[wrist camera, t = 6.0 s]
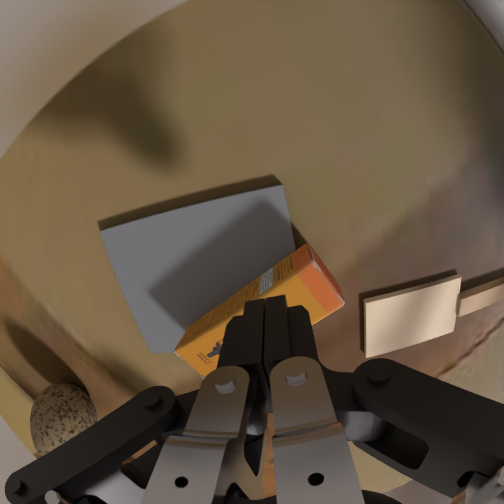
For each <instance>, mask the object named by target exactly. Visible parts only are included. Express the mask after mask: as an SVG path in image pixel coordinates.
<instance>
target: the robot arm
mask: <svg viewBox="0 0 504 504" xmlns="http://www.w3.org/2000/svg"><path fill="white" fill-rule="evenodd" d="M222 342H223V344H222V346H221V350H220V355H219V359H218V363H217V368H216V369H215V370H213V371H212V372H210V373H209V374H208V375H207V376H206V377H205V378H204V379H203V381H202V383H201V386H200V389H198V390H195V391H192V392H189V393H185V394H182V395H178V396H175V394H174V392H173V391H172V390H171V389H170V388H168V387H165V386H154V387H150V388H148V389H146V390H144V391H142V392H141V393H139V394H138V395H136V396H135V397H133V398H132V399H131V400H129V401H128V402H126V403H125V404H123V405H122V406H120V407H119V408H117V409H116V410H114V411H113V412H111V413H110V414H108V415H107V416H105V417H104V418H102V419H101V420H99V421H98V422H96V423H95V424H93V425H92V426H90V427H89V428H87V429H85V430H84V431H82V432H81V433H79V434H78V435H76V436H74V437H73V438H71V439H70V440H68V441H66V442H65V443H63V444H62V445H60V446H58V447H57V448H55V449H53V450H52V451H50V452H48V453H47V454H45V455H43V456H42V457H40V458H38V459H37V460H35V461H33V462H32V463H30V464H28V465H26V466H25V467H23V468H21V469H19V470H18V471H16V472H14V473H12V474H11V475H10V476H9V478H8V479H7V481H6V484H5V495H6V497H7V499H8V501H9V502H10V503H11V504H402V503H400V502H398V501H397V500H395V499H393V498H390V497H388V496H386V495H384V494H380V493H377V492H372V491H367V490H361V487H360V484H359V480H358V477H357V473H356V469H355V466H354V462H353V459H352V456H351V452H350V449H349V445H348V442H347V441H352V442H353V443H354V445H356V446H357V447H358V448H360V449H361V450H363V451H365V452H366V453H368V454H370V455H371V456H373V457H374V458H376V459H378V460H380V461H381V462H383V463H385V464H386V465H388V466H390V467H392V468H393V469H395V470H397V471H399V472H400V473H402V474H404V475H406V476H408V477H410V478H412V479H413V480H415V481H417V482H419V483H421V484H423V485H425V486H427V487H429V488H431V489H433V490H435V491H437V492H440V493H442V494H444V495H446V496H448V497H451V498H452V499H453V500H452V503H451V504H504V404H502V403H499V402H497V401H494V400H491V399H488V398H486V397H483V396H480V395H477V394H475V393H472V392H469V391H467V390H464V389H462V388H459V387H456V386H454V385H451V384H449V383H446V382H444V381H441V380H439V379H436V378H434V377H431V376H429V375H426V374H424V373H422V372H419V371H417V370H414V369H412V368H409V367H407V366H405V365H402V364H400V363H398V362H395V361H393V360H390V359H384V358H378V359H372V360H369V361H366V362H364V363H362V364H361V365H360V366H358V367H357V368H356V370H355V371H354V373H347V372H336V371H332V370H329V369H327V368H326V367H324V366H323V365H322V364H321V363H320V361H319V359H318V354H317V349H316V344H315V339H314V334H313V330H312V325H311V320H310V315H309V311H308V310H307V309H306V308H304V307H303V306H302V305H297V306H292V307H288V305H287V300H286V296H285V294H284V295H278V296H273V297H267V298H266V300H265V298H262V299H256V300H250V301H245V305H244V311H243V315H238V316H233V317H232V319H231V320H230V321H229V322H228V324H227V325H226V328H225V333H224V337H223V341H222ZM267 413H273V417H274V428H275V435H274V436H273V438H272V446H273V459H274V471H275V483H276V495H275V496H271V497H267V498H264V490H263V483H262V479H263V471H264V464H265V456H266V448H267V440H268V428H267ZM153 440H155V441H156V443H157V444H156V445H155V446H153V447H152V448H151V449H149V450H148V451H147V452H145V453H144V454H142V455H141V456H140V457H138V458H137V459H135V460H134V461H132V462H131V463H127V464H124V463H122V462H123V461H125V460H126V459H127V458H129V457H130V456H132V455H133V454H135V453H136V452H137V451H139V450H140V449H142V448H143V447H144V446H146V445H147V444H149V443H150V442H151V441H153Z"/></svg>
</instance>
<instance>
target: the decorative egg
mask: <svg viewBox="0 0 504 504" xmlns="http://www.w3.org/2000/svg"><path fill="white" fill-rule="evenodd" d="M96 422H97V414H96V410H95V407H94V404H93V402H92V401H91V399H90V398H89V396H88V395H87V394H86V393H85V392H84V391H83V390H82V389H80V388H78V387H77V386H75V385H72V384H68V383H57V384H53V385H50V386H48V387H47V388H45V389H44V390H43V391H41V393H40V394H39V395H38V396H37V398H36V399H35V401H34V404H33V407H32V410H31V416H30V428H31V435H32V440H33V443H34V446H35V448H36V450H37V452H38V453H39V455H40V456H41V457H42V456H43V455H45V454H47V453H48V452H50V451H52V450H53V449H55V448H57V447H58V446H60V445H62V444H63V443H65V442H66V441H68V440H70V439H71V438H73V437H74V436H76V435H78V434H79V433H81V432H82V431H84V430H85V429H87V428H89V427H90V426H92V425H93V424H95V423H96Z"/></svg>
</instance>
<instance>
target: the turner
mask: <svg viewBox="0 0 504 504" xmlns="http://www.w3.org/2000/svg"><path fill="white" fill-rule="evenodd" d="M460 285H461V277H460V276H459V275H458V274H457V275H453V276H450V277H447V278H443V279H440V280H436V281H433V282H429V283H425V284H422V285H418V286H414V287H411V288H407V289H403V290H399V291H395V292H391V293H387V294H383V295H379V296H375V297H370V298H366V299H363V302H364V353H365V356H366V358H368V357H372V356H376V355H380V354H383V353H387V352H391V351H394V350H398V349H401V348H404V347H408V346H411V345H414V344H418V343H421V342H424V341H427V340H430V339H433V338H436V337H439V336H442V335H444V334H447V333H450V332H453V331H454V325H455V320H456V314H457V316H458V317H460V316H463V315H465V314H468V313H471V312H473V311H476V310H478V309H481V308H483V307H486V306H488V305H491V304H493V303H495V302H498V301H500V300H502V299H504V276H503V277H501V278H498V279H496V280H493V281H490V282H488V283H485V284H482V285H479V286H477V287H474V288H471V289H468V290H465V291H462V292H460Z"/></svg>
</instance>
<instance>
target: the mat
mask: <svg viewBox="0 0 504 504" xmlns="http://www.w3.org/2000/svg"><path fill="white" fill-rule="evenodd" d="M100 234H101V237H102V240H103V243H104V246H105V248H106V251H107V254H108V257H109V259H110V262H111V265H112V267H113V270H114V272H115V275H116V277H117V280H118V282H119V285H120V287H121V290H122V292H123V294H124V297H125V299H126V301H127V304H128V306H129V308H130V310H131V313H132V315H133V317H134V319H135V321H136V323H137V325H138V328H139V330H140V332H141V334H142V336H143V338H144V340H145V342H146V344H147V346H148V348H149V350H150V352H151V353H168V352H175V351H174V349H175V347H176V346H177V344H178V343H179V341H180V340H181V338H182V336H183V335H184V333H185V331H186V329H187V327H188V326H190V325H191V324H192V323H194V322H195V321H197V320H198V319H199V318H201V317H202V316H204V315H205V314H207V313H208V312H210V311H211V310H212V309H214V308H215V307H217V306H218V305H220V304H221V303H222V302H224V301H225V300H227V299H228V298H230V297H231V296H232V295H234V294H235V293H237V292H238V291H240V290H241V289H242V288H244V287H245V286H246V285H248V284H249V283H251V282H252V281H254V280H255V279H256V278H258V277H259V276H261V275H262V274H263V273H265V272H266V271H267V270H269V269H270V268H272V267H273V266H274V265H276V264H277V263H279V262H280V261H281V260H283V259H284V258H286V257H287V256H288V255H290V254H291V253H293V252H294V251H296V248H295V243H294V238H293V233H292V227H291V222H290V217H289V212H288V207H287V203H286V198H285V193H284V188H283V184H279V185H274V186H269V187H264V188H260V189H255V190H250V191H246V192H241V193H237V194H233V195H228V196H224V197H220V198H215V199H211V200H207V201H203V202H199V203H195V204H191V205H187V206H183V207H179V208H176V209H172V210H168V211H164V212H161V213H157V214H153V215H150V216H146V217H143V218H139V219H136V220H132V221H129V222H125V223H122V224H119V225H115V226H112V227H109V228H105V229H103V230H101V231H100Z"/></svg>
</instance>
